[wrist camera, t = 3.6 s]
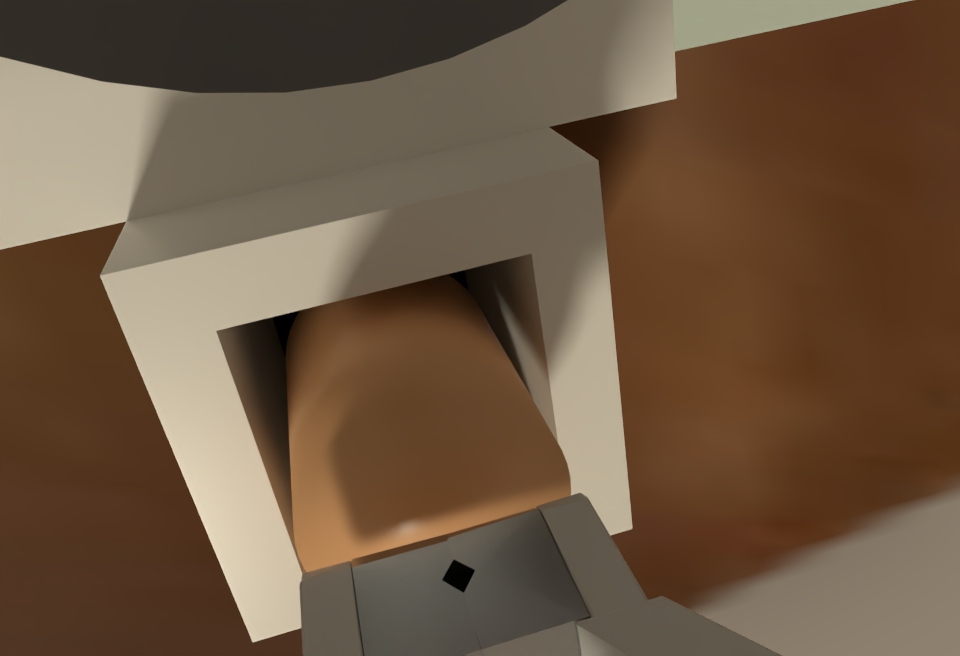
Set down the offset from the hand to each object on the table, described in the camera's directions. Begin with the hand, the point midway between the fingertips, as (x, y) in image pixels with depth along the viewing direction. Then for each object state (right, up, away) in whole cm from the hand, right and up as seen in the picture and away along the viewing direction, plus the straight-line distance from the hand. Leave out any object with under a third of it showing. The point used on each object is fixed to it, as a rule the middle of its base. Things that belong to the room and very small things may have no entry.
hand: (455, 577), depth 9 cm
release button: (-1, +2, +4) cm, 5 cm away
